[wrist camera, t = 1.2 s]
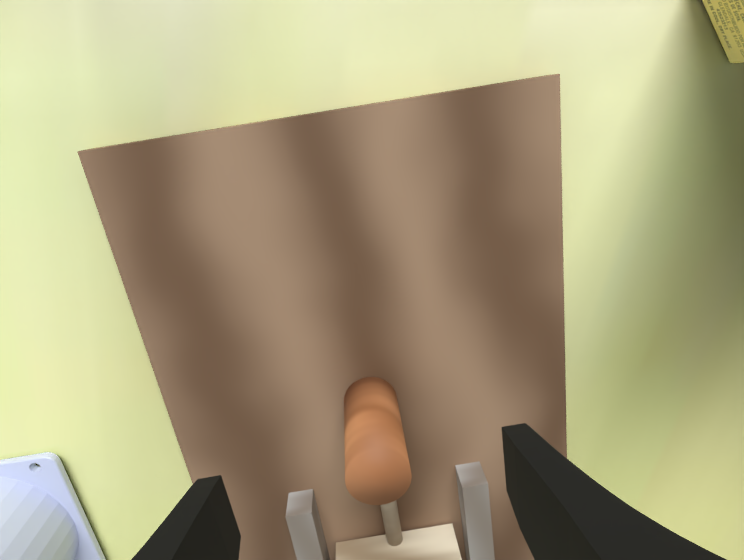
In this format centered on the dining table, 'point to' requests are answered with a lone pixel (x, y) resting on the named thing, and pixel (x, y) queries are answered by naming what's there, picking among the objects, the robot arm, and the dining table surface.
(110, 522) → the dining table surface
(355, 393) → the joystick
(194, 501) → the robot arm
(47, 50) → the dining table surface
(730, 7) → the candy box
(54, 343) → the dining table surface
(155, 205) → the thin wooden panel
